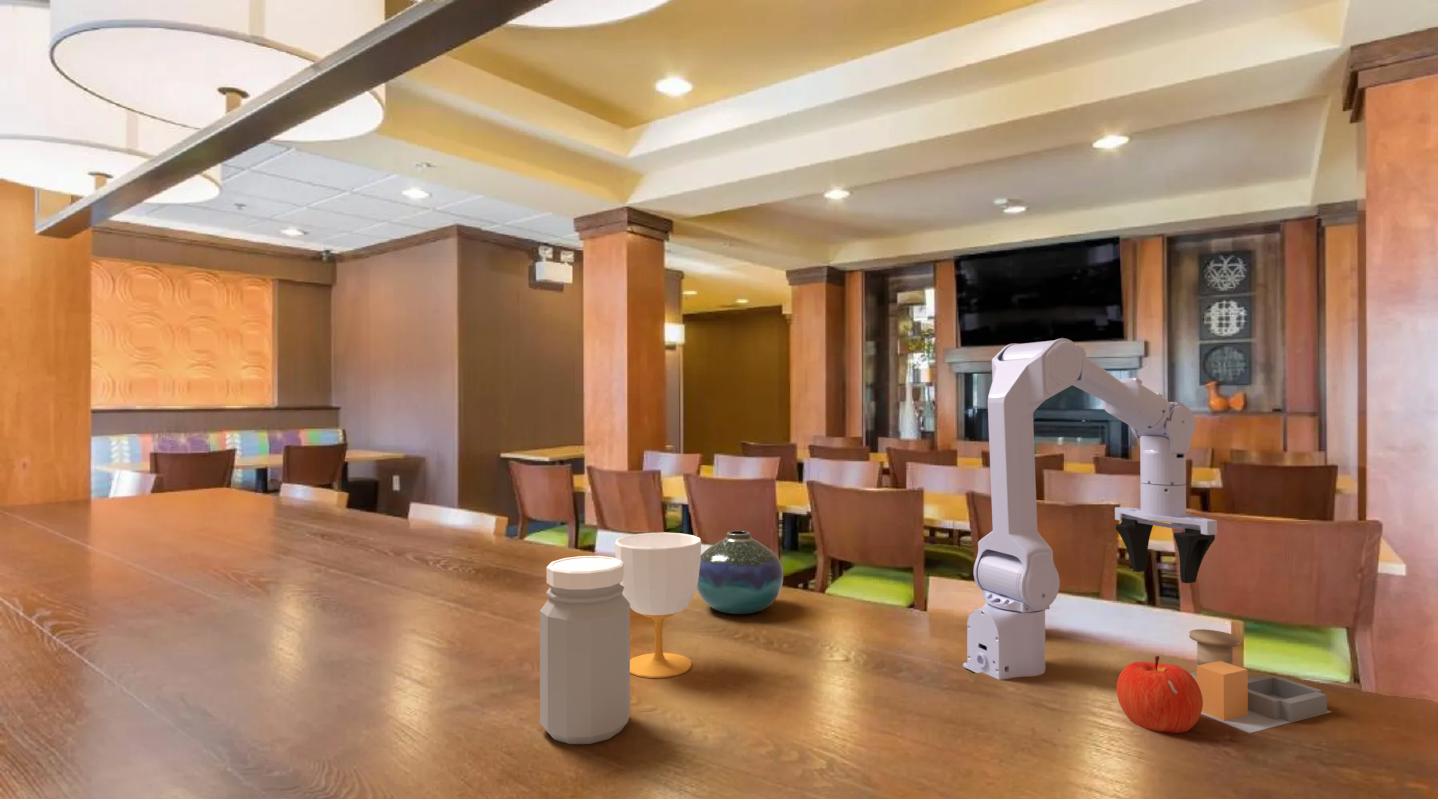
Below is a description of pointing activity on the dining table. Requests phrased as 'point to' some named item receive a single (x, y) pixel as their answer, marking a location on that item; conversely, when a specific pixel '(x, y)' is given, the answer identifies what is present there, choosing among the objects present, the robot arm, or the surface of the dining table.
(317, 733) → the dining table surface
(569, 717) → the jar
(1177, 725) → the apple
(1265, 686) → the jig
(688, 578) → the cup
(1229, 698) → the block
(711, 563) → the vase
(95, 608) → the dining table surface
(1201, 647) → the knob
